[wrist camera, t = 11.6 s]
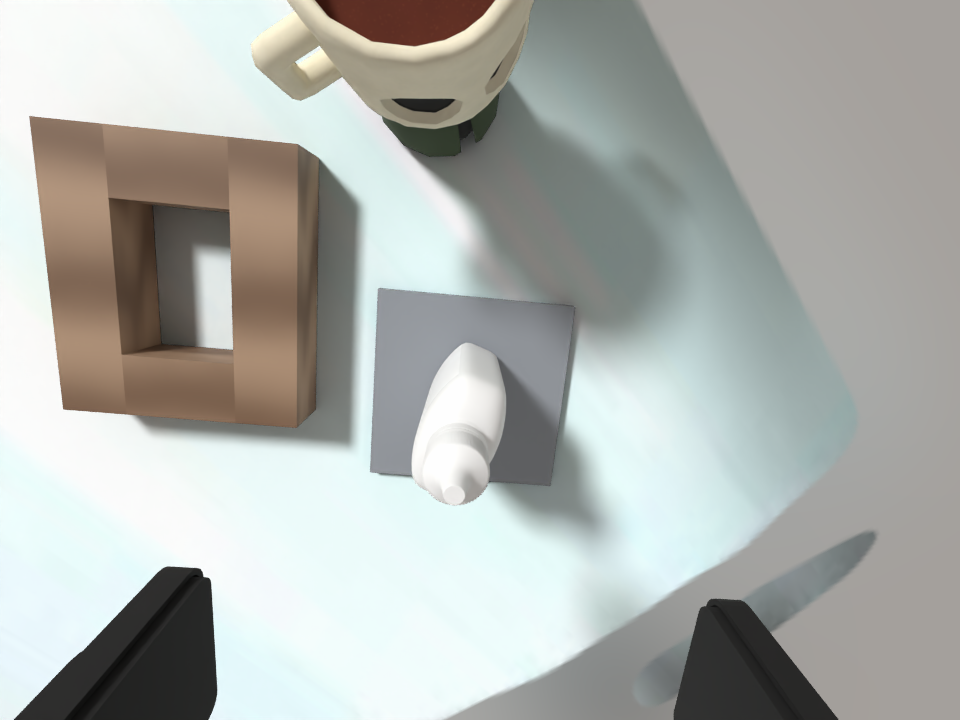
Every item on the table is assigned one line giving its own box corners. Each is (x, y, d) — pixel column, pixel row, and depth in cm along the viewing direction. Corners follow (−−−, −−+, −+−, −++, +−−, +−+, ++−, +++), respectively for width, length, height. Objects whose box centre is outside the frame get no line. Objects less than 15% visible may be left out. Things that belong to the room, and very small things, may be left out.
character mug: (386, 211, 24) (294, 162, 12) (311, 84, 23) (114, -128, 10) (563, 103, 23) (673, -78, 11) (497, -37, 22) (533, -438, 9)
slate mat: (380, 288, 25) (378, 288, 25) (573, 305, 26) (575, 306, 25) (372, 467, 28) (370, 472, 27) (548, 481, 28) (550, 485, 28)
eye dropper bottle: (399, 387, 26) (342, 493, 14) (478, 330, 25) (484, 392, 14) (445, 444, 27) (426, 588, 15) (522, 390, 26) (564, 497, 14)
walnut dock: (84, 133, 23) (29, 116, 20) (319, 158, 24) (297, 144, 21) (108, 392, 26) (63, 409, 23) (315, 409, 27) (296, 427, 24)
